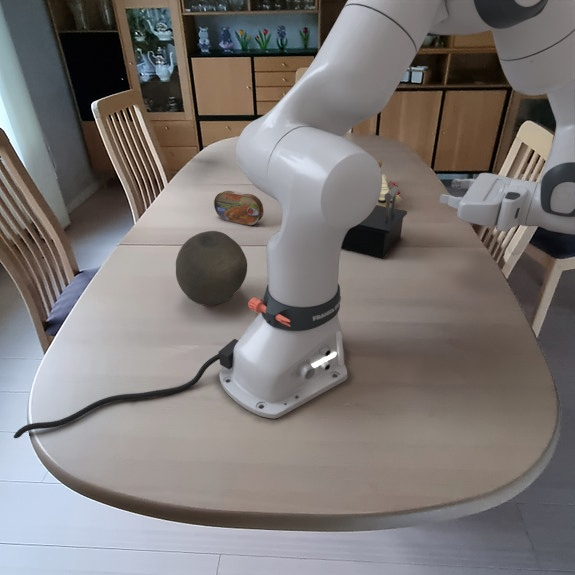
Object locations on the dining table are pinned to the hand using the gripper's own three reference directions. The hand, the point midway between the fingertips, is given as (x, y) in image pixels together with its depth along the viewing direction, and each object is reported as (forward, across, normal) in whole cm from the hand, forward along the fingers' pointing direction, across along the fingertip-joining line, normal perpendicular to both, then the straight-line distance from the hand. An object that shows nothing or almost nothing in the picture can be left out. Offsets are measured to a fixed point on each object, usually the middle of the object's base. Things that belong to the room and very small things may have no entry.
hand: (446, 190), depth 97 cm
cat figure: (+25, -30, +17) cm, 43 cm away
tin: (+53, +5, +17) cm, 56 cm away
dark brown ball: (+35, +40, +17) cm, 55 cm away
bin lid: (+18, 0, +10) cm, 21 cm away
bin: (+18, 0, +17) cm, 25 cm away
